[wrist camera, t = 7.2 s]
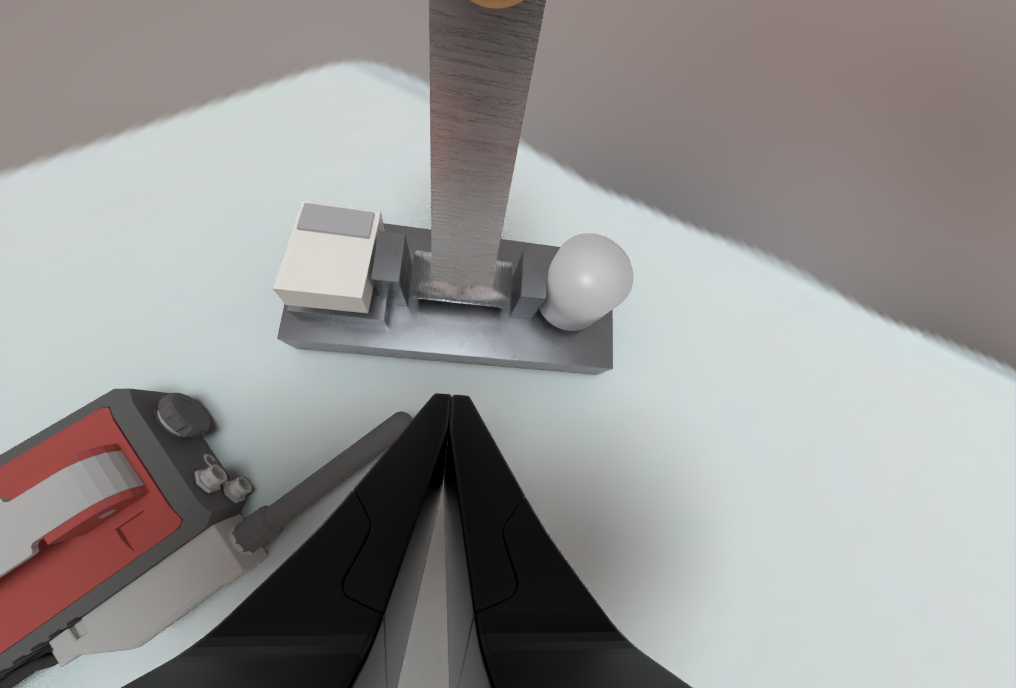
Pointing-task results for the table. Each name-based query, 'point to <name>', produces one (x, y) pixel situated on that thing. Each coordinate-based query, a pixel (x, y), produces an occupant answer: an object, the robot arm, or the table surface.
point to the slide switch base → (453, 317)
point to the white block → (329, 258)
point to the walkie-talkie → (130, 526)
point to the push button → (585, 281)
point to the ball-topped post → (474, 143)
